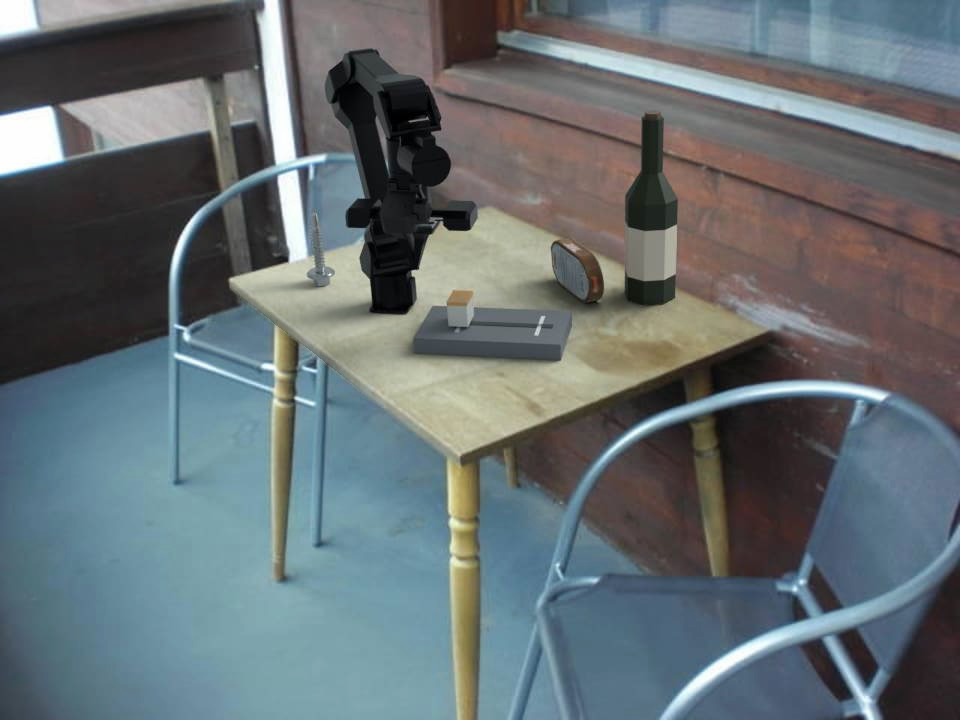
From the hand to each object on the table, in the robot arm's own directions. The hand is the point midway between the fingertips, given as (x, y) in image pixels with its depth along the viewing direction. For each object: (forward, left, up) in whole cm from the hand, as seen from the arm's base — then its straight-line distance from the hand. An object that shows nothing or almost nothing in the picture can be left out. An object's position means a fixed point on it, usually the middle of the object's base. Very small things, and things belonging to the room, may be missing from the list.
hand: (415, 268), depth 172 cm
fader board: (+12, 0, -11) cm, 16 cm away
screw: (-22, +19, -11) cm, 31 cm away
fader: (+7, 0, -8) cm, 11 cm away
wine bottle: (+34, +19, -11) cm, 40 cm away
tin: (+22, +19, -11) cm, 31 cm away
